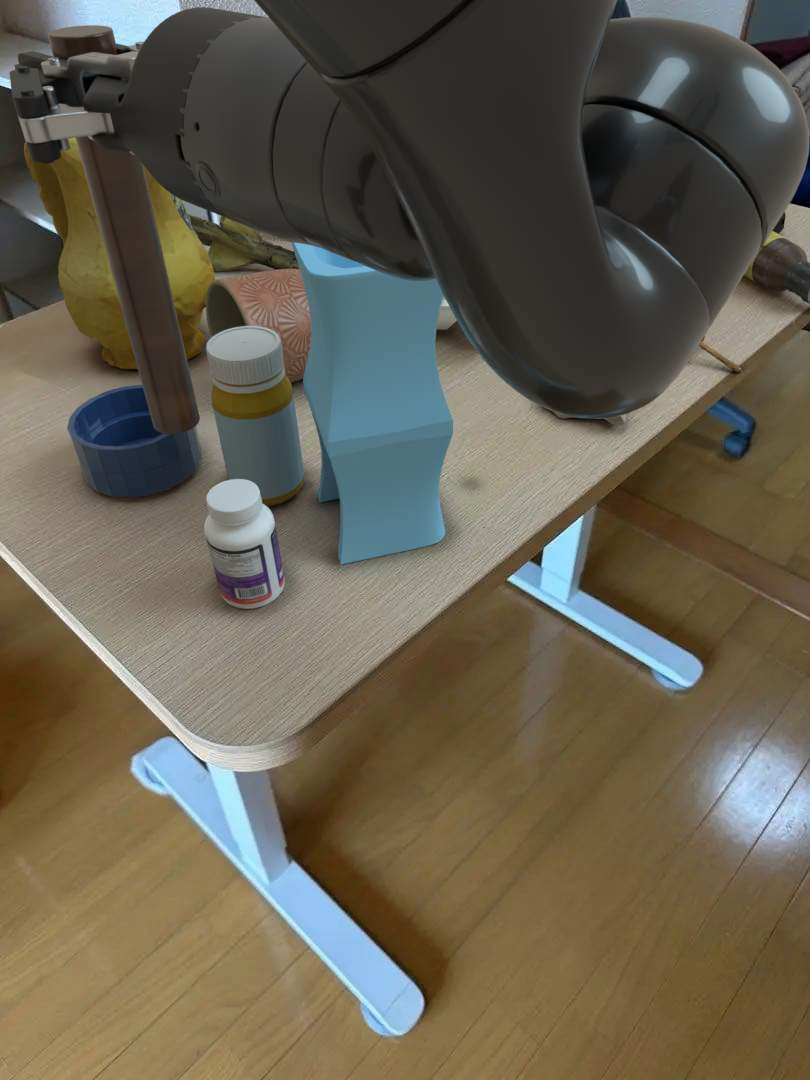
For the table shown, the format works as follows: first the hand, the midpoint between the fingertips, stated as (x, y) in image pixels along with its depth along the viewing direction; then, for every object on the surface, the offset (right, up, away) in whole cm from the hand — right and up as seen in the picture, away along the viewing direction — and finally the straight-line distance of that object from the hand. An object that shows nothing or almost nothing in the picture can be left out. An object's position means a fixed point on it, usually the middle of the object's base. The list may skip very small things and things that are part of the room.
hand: (63, 70), depth 42 cm
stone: (+39, -9, +48) cm, 62 cm away
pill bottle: (+5, -28, +25) cm, 38 cm away
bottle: (+5, -19, +36) cm, 41 cm away
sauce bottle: (+62, +19, +71) cm, 96 cm away
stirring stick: (+3, -16, +12) cm, 20 cm away
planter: (+8, +1, +50) cm, 50 cm away
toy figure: (+50, -3, +50) cm, 70 cm away
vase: (+15, -22, +32) cm, 42 cm away
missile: (-5, +23, +72) cm, 76 cm away
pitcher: (-13, 0, +58) cm, 60 cm away
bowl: (-8, -17, +39) cm, 43 cm away
